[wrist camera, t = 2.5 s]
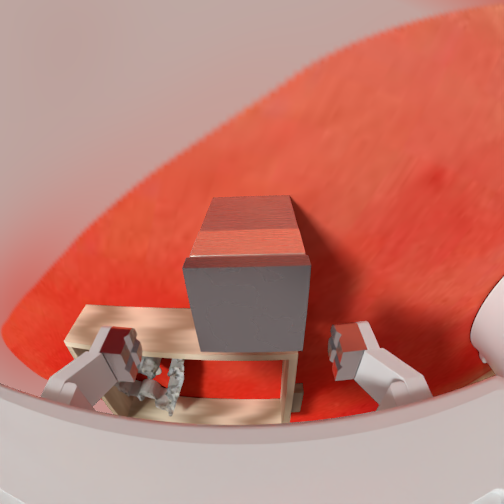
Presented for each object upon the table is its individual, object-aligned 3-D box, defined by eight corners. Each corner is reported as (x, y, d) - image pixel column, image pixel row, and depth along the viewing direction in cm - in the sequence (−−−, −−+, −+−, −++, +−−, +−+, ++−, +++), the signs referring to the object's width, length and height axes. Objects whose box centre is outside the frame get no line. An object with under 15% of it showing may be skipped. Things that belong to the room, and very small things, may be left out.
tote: (303, 307, 24) (311, 353, 20) (292, 400, 31) (295, 437, 27) (79, 304, 25) (56, 340, 20) (126, 392, 32) (116, 424, 28)
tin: (290, 193, 19) (311, 265, 12) (289, 261, 22) (302, 350, 14) (211, 196, 19) (182, 267, 12) (218, 263, 22) (200, 351, 15)
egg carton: (179, 391, 32) (173, 419, 28) (119, 372, 31) (109, 400, 27) (195, 336, 26) (187, 371, 23) (118, 312, 25) (103, 344, 22)
